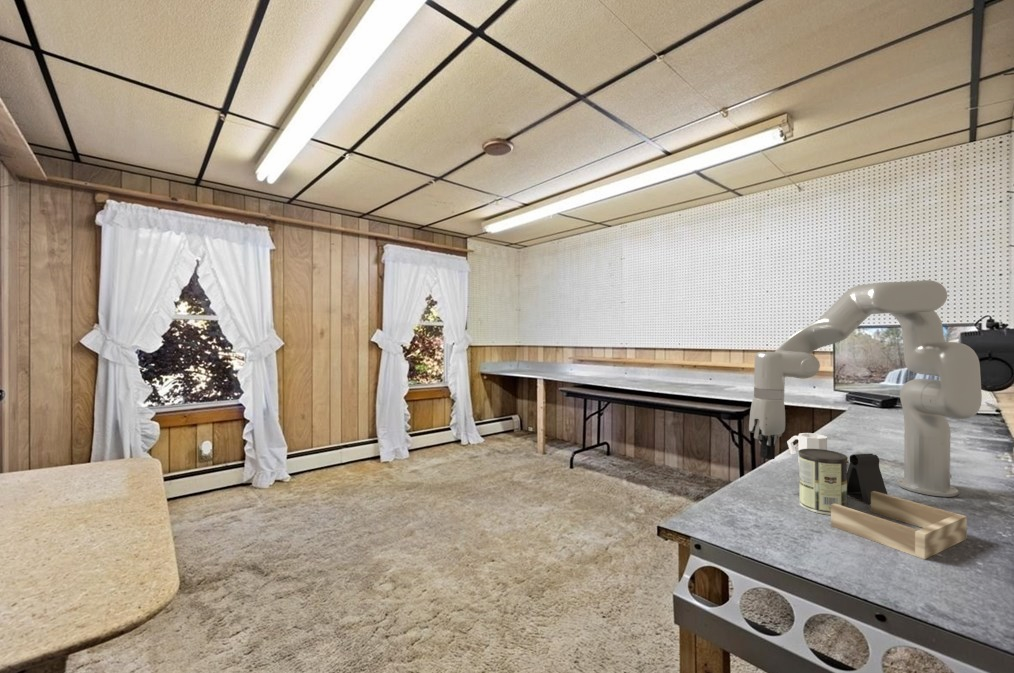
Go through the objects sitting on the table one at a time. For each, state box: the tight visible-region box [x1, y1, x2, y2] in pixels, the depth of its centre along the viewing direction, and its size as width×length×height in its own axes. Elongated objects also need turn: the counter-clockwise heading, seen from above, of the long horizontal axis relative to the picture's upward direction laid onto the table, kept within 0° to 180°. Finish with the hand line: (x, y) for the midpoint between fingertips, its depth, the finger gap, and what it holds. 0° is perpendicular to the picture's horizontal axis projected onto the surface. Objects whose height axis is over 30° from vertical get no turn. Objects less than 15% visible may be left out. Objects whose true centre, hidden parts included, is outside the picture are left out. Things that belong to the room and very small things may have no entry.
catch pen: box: [830, 491, 968, 560], centre depth 99 cm, size 19×17×5 cm
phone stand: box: [847, 453, 889, 506], centre depth 119 cm, size 9×6×12 cm, turn 5°
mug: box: [786, 432, 828, 465], centre depth 150 cm, size 12×9×10 cm
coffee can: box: [797, 449, 849, 516], centre depth 113 cm, size 10×10×14 cm
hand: (767, 458), depth 125 cm, fingers closed
